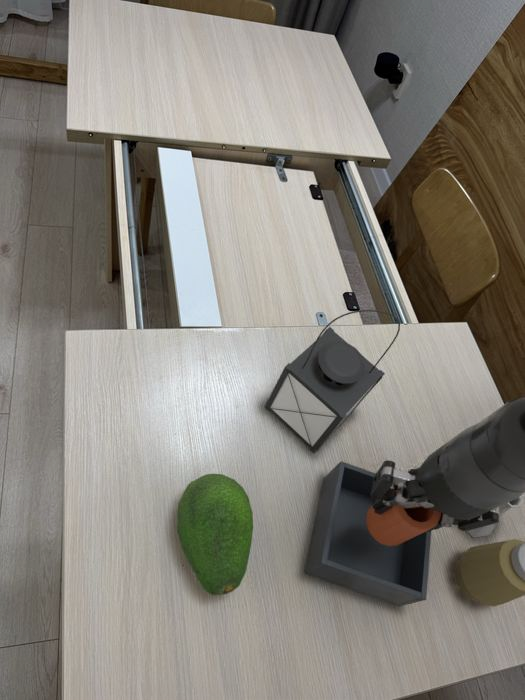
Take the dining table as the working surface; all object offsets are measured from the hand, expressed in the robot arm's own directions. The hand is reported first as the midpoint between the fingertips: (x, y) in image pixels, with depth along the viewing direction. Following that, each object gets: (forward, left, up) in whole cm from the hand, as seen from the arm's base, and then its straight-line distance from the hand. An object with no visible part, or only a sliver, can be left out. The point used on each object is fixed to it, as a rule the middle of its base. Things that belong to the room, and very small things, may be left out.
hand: (401, 514), depth 64 cm
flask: (-18, -10, -14) cm, 25 cm away
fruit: (+21, +7, -14) cm, 26 cm away
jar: (0, 0, -5) cm, 5 cm away
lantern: (+12, -18, -14) cm, 26 cm away
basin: (0, 0, -14) cm, 14 cm away
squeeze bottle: (-18, 0, -14) cm, 23 cm away
